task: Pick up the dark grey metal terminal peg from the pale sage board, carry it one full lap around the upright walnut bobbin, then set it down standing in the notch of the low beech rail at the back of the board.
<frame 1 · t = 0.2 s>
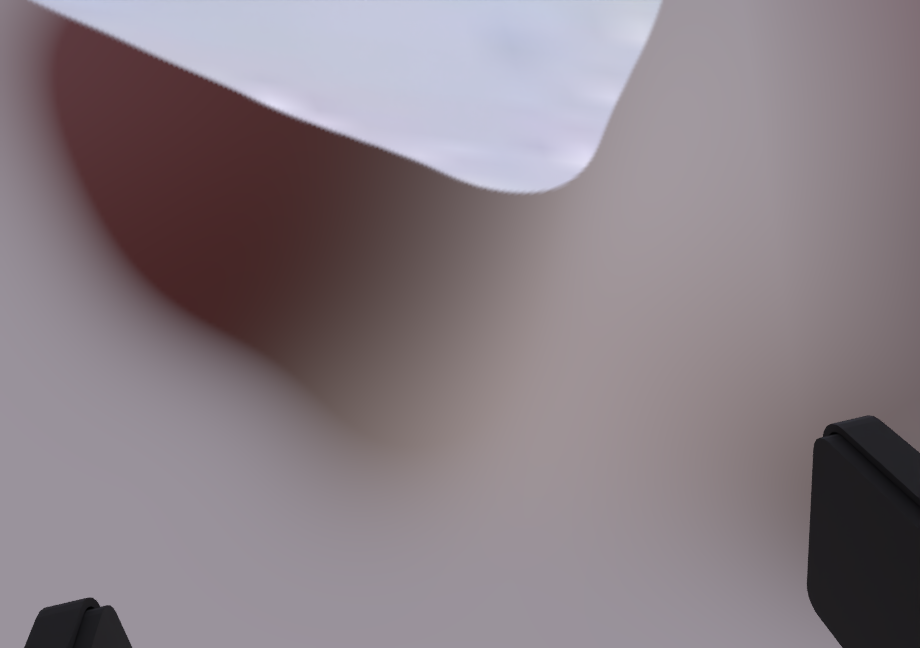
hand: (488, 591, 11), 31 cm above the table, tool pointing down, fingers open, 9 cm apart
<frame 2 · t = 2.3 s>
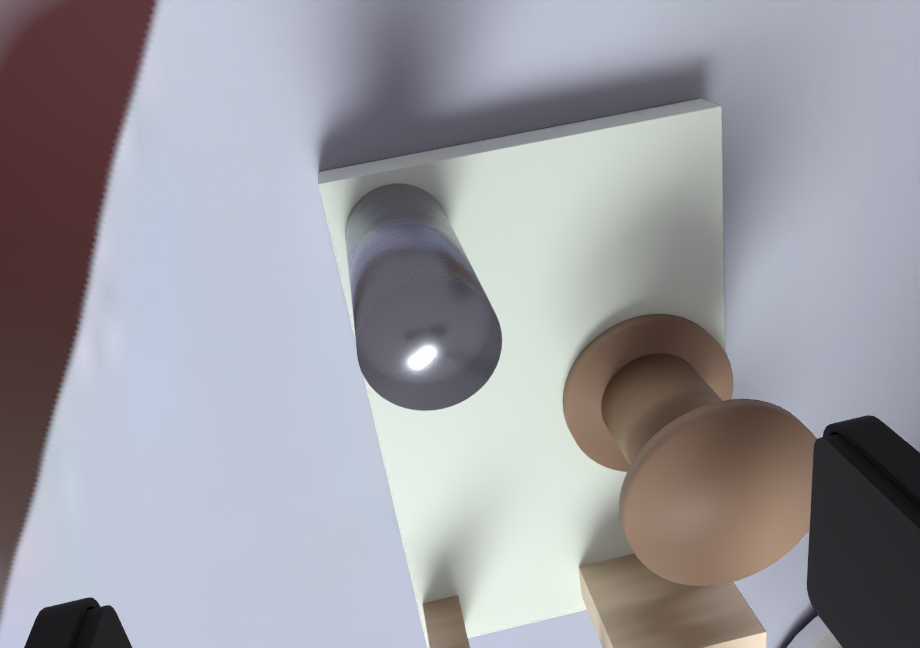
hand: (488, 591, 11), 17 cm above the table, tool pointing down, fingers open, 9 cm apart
base board: (545, 390, 30), on the table
peg: (397, 234, 25), point 1 cm above the table, touching base board
notched rail: (570, 584, 32), resting on base board
bobbin: (644, 391, 29), resting on base board
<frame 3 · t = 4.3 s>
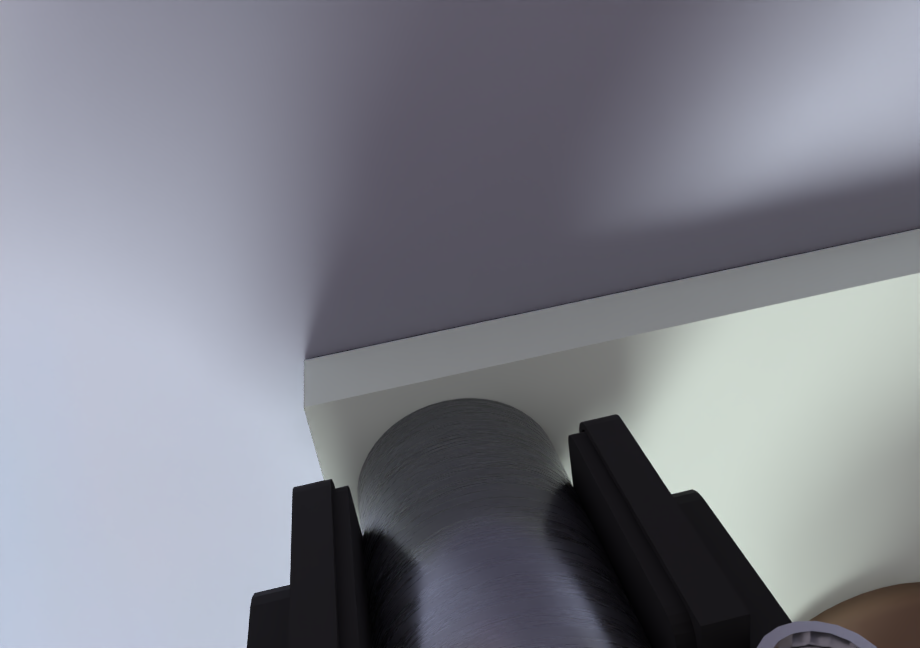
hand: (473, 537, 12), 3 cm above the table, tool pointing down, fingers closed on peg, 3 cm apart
peg: (459, 486, 13), point 2 cm above the table, touching base board, gripper
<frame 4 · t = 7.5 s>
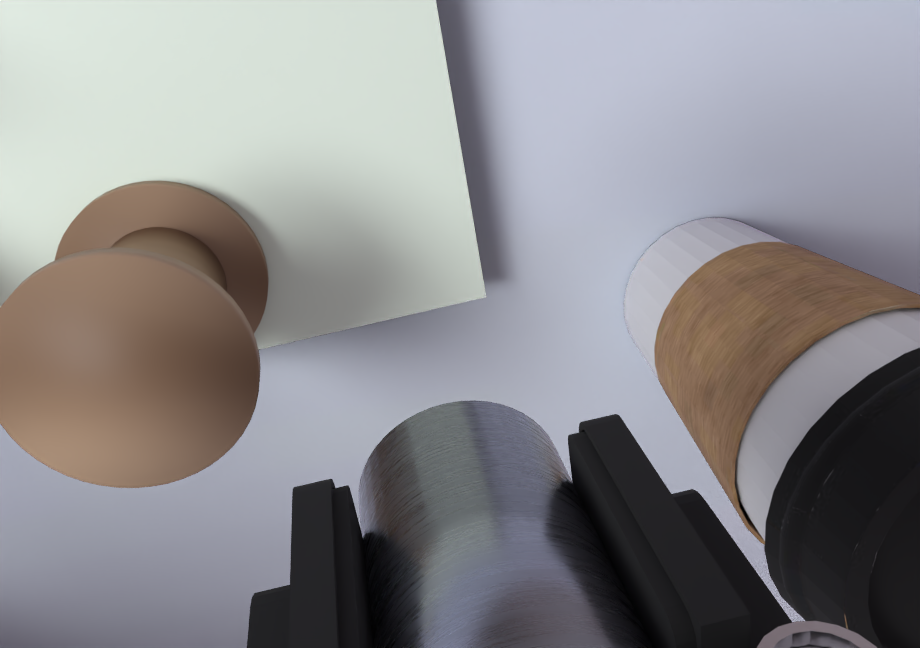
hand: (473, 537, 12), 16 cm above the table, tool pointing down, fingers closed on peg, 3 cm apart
base board: (138, 162, 25), on the table
coffee cup: (697, 292, 30), on the table
peg: (461, 490, 13), point 15 cm above the table, touching gripper
bobbin: (166, 278, 25), resting on base board
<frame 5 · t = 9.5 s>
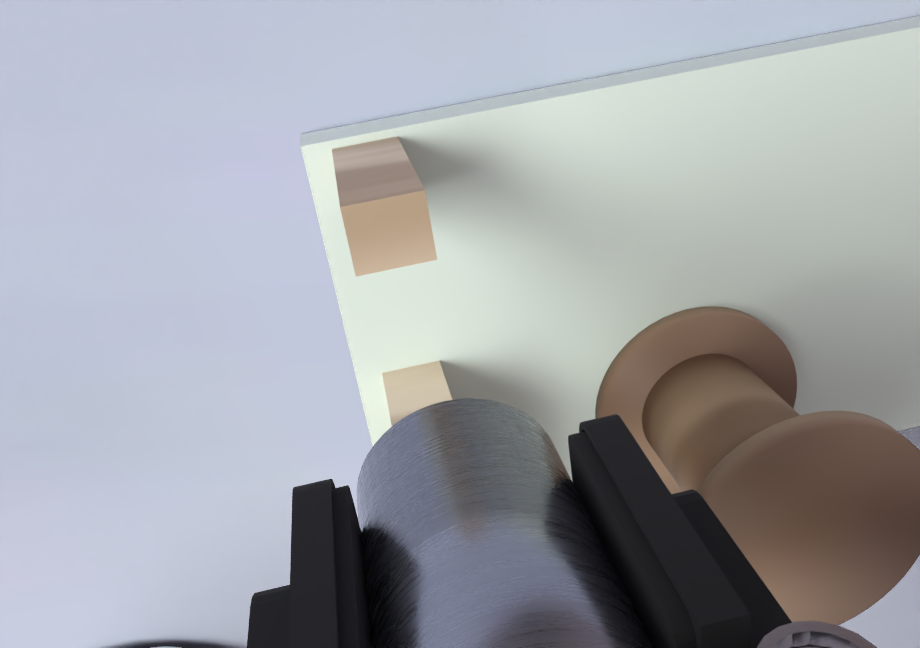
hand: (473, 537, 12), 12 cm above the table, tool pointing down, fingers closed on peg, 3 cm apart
base board: (667, 281, 24), on the table
peg: (460, 488, 13), point 11 cm above the table, touching gripper
notched rail: (408, 353, 22), resting on base board
bobbin: (692, 399, 24), resting on base board
when the fingers open (4 cm above the table, at t = 11.1 s): peg drops 2 cm, resting on base board.
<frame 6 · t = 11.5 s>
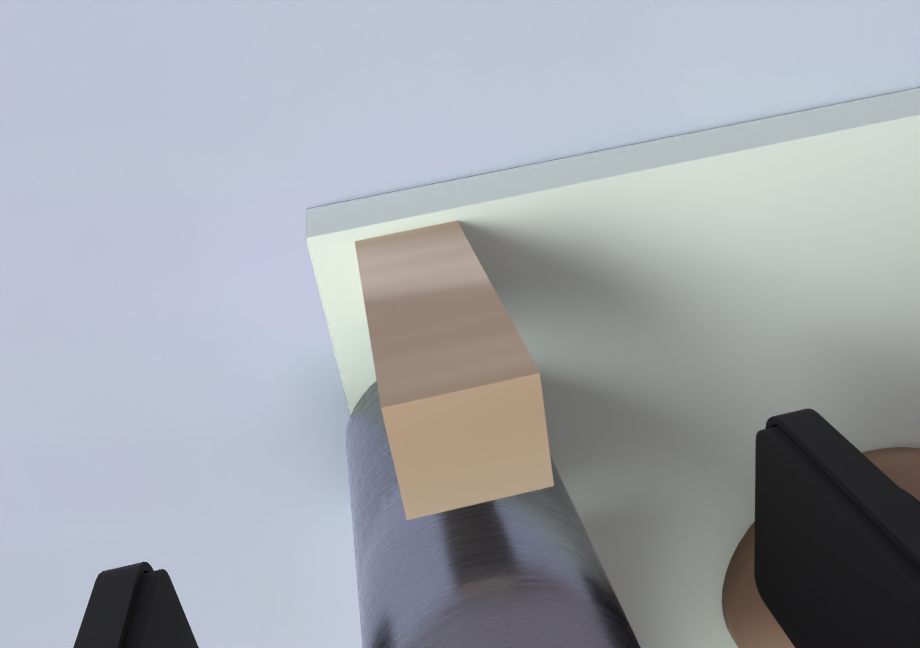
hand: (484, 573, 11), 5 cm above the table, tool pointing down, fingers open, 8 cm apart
base board: (822, 402, 17), on the table
peg: (439, 436, 14), point 2 cm above the table, touching base board
notched rail: (462, 525, 15), resting on base board
bobbin: (856, 567, 17), resting on base board
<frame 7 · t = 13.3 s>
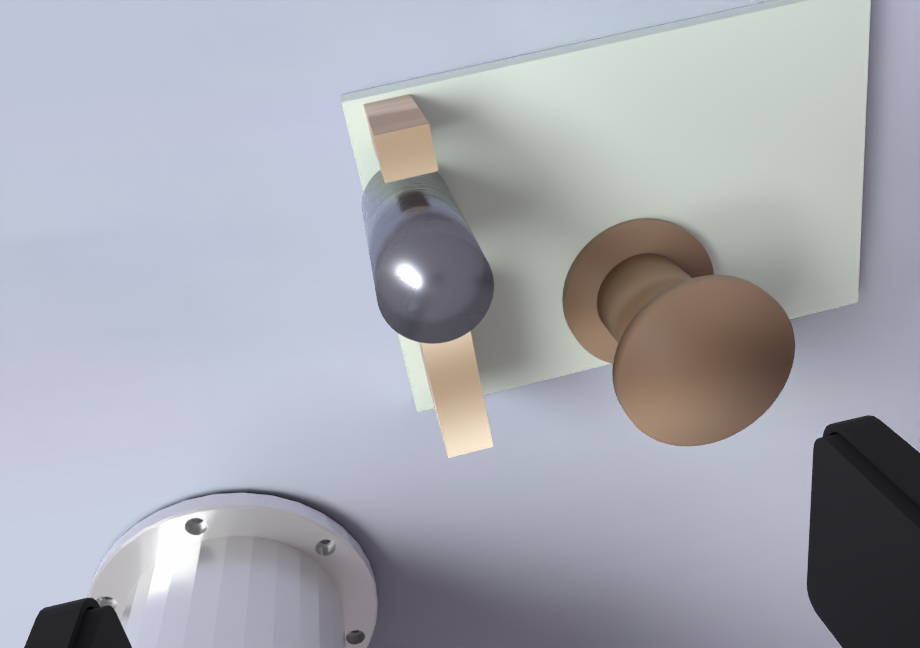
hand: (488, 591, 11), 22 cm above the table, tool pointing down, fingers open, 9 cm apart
base board: (615, 202, 32), on the table
peg: (406, 205, 29), point 2 cm above the table, touching base board
notched rail: (420, 256, 30), resting on base board
bobbin: (635, 291, 32), resting on base board
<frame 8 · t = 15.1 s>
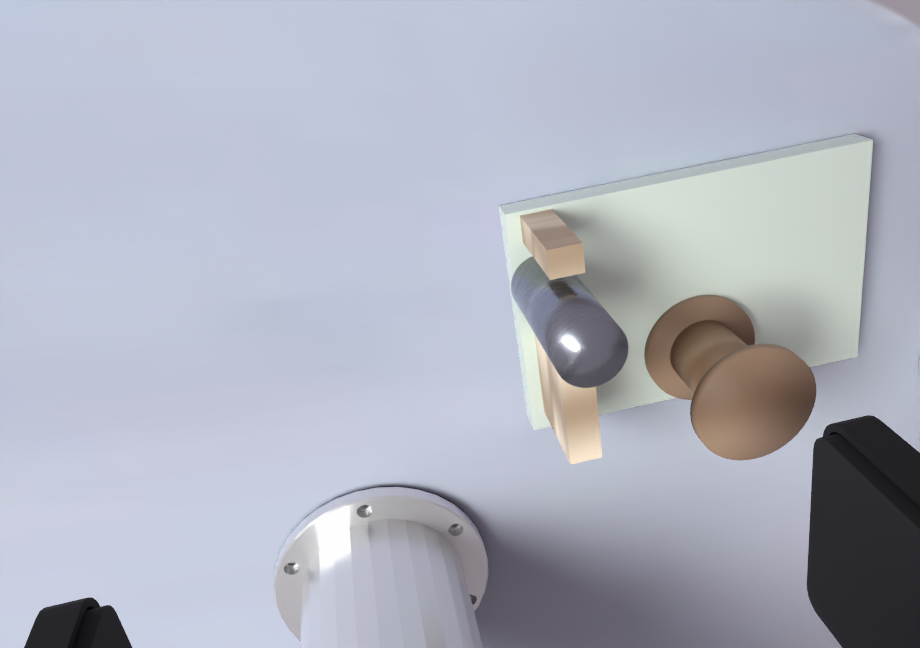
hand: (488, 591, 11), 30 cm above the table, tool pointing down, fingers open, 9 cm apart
base board: (684, 281, 44), on the table
peg: (541, 283, 41), point 2 cm above the table, touching base board
notched rail: (548, 319, 42), resting on base board
bobbin: (697, 345, 44), resting on base board
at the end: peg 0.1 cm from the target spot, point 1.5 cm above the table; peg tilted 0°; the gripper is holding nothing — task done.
